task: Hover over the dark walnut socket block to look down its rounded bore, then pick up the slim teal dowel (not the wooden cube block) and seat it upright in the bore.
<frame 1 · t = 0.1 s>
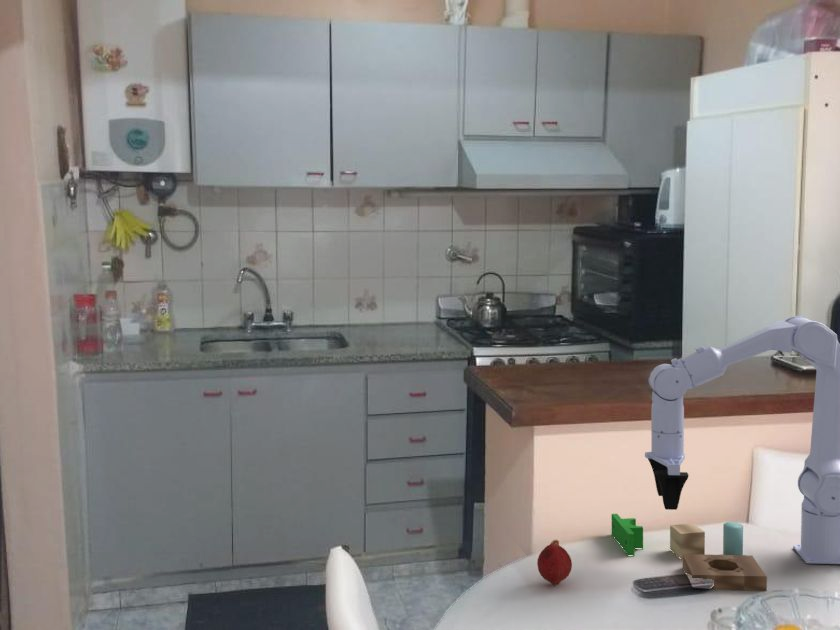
hand: (667, 502, 158), 10 cm above the table, tool pointing down, fingers open, 7 cm apart
onion: (554, 585, 148), on the table
wooden cube block: (687, 554, 159), on the table
green pronged block: (628, 546, 165), on the table
teal dowel: (732, 556, 157), on the table
socket block: (723, 578, 148), on the table
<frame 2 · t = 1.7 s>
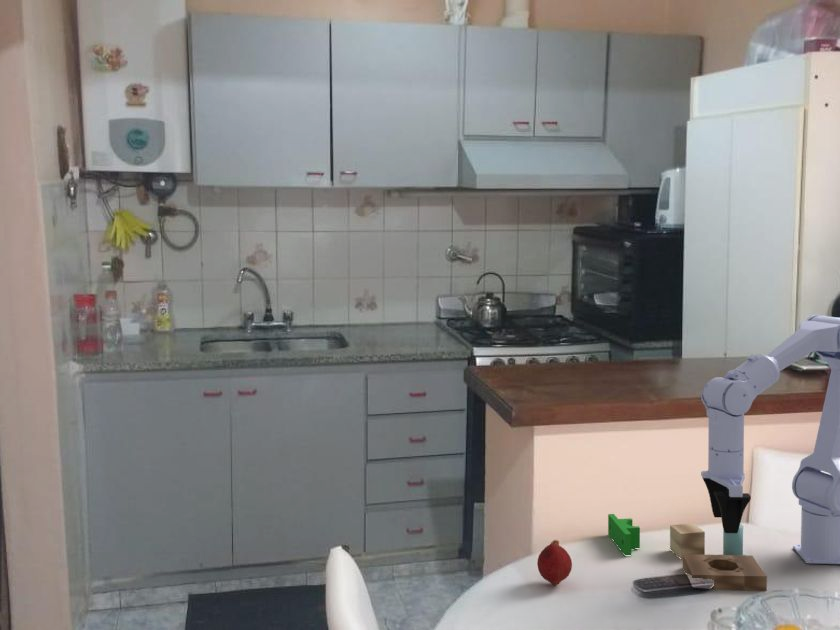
hand: (725, 524, 148), 9 cm above the table, tool pointing down, fingers open, 7 cm apart
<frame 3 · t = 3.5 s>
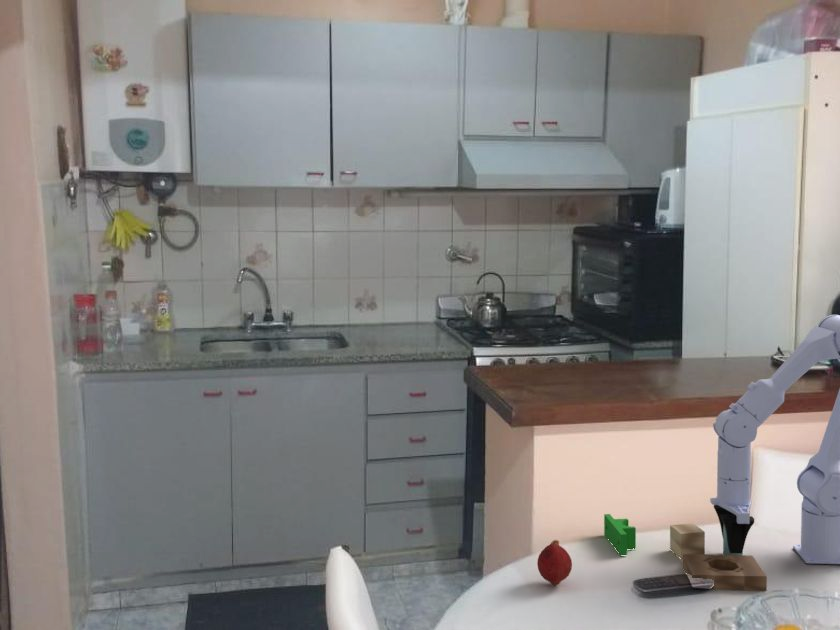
hand: (732, 548, 157), 2 cm above the table, tool pointing down, fingers closed on teal dowel, 3 cm apart
teal dowel: (732, 556, 157), on the table, touching gripper
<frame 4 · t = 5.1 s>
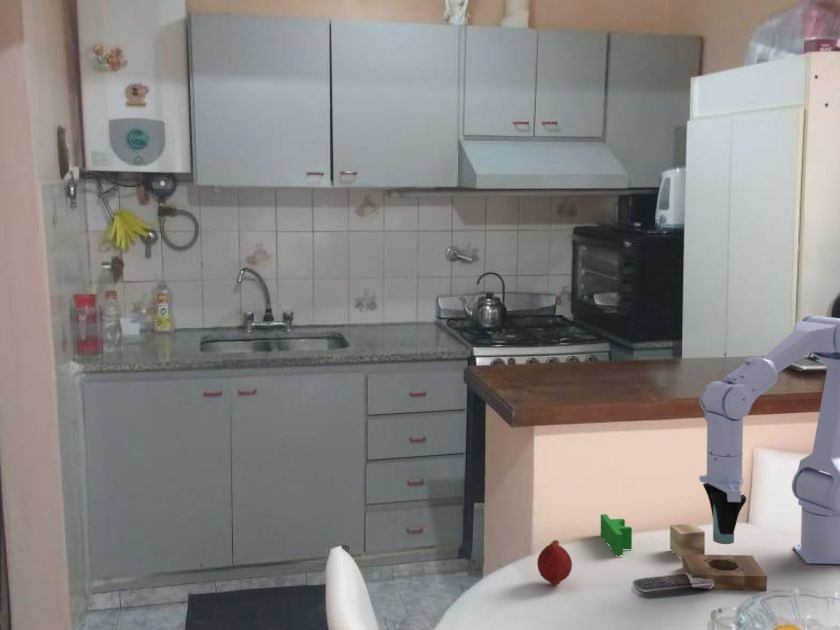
hand: (723, 529, 147), 9 cm above the table, tool pointing down, fingers closed on teal dowel, 3 cm apart
teal dowel: (723, 540, 147), point 7 cm above the table, touching gripper
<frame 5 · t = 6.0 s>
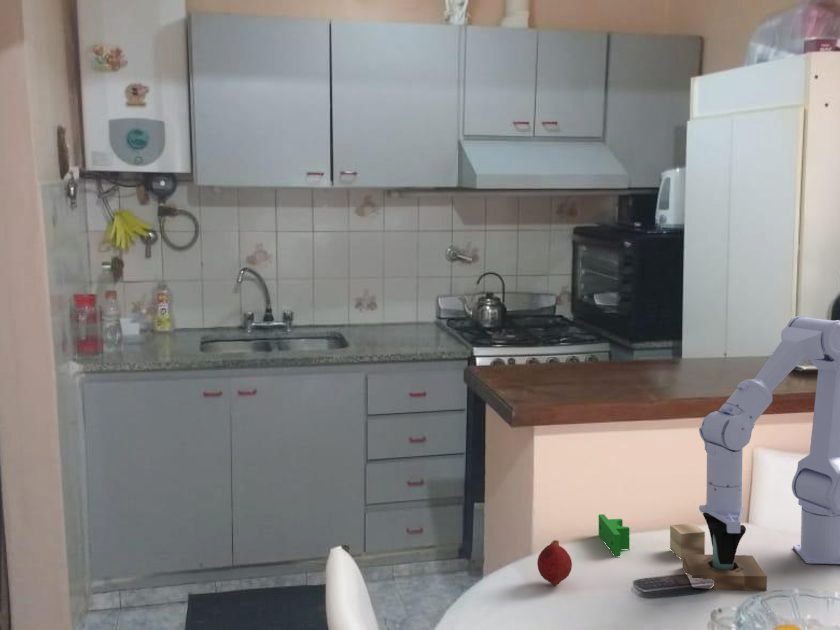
hand: (723, 558, 148), 4 cm above the table, tool pointing down, fingers closed on teal dowel, 3 cm apart
teal dowel: (723, 569, 148), point 2 cm above the table, touching gripper
when the fingers open (3 cm above the table, at t = 6.4 s): teal dowel drops 1 cm, resting in socket block.
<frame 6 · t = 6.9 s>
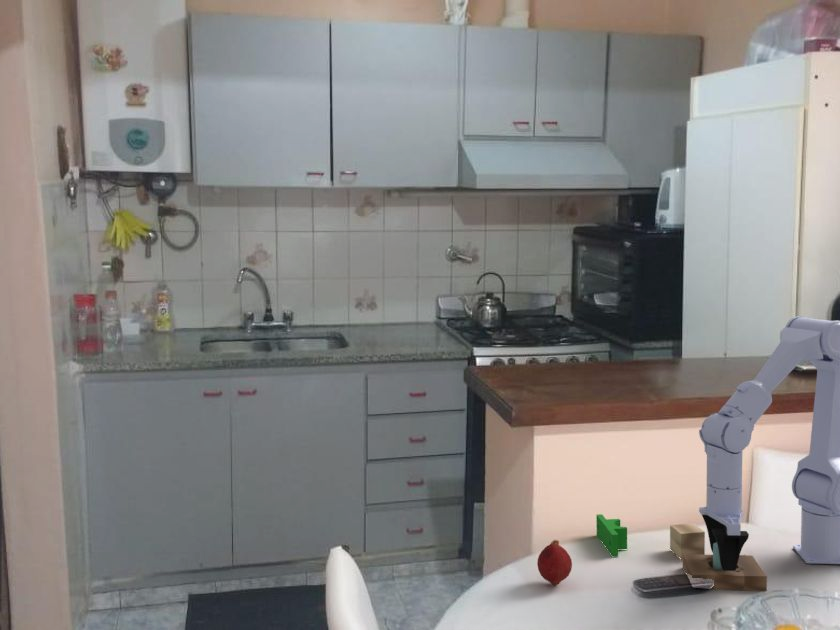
hand: (723, 560, 148), 3 cm above the table, tool pointing down, fingers open, 7 cm apart
teal dowel: (723, 578, 148), resting in socket block
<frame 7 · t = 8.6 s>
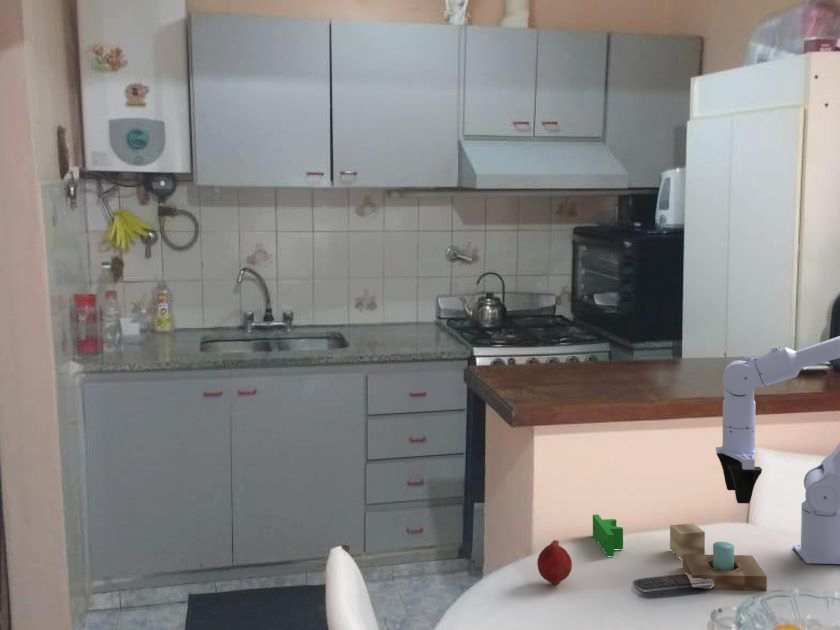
hand: (737, 496, 161), 10 cm above the table, tool pointing down, fingers open, 7 cm apart
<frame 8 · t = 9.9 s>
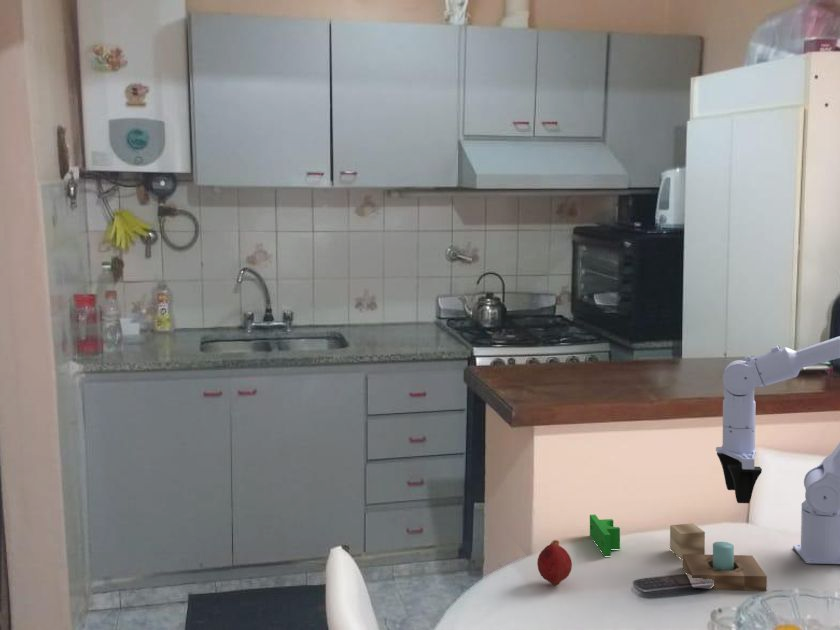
hand: (738, 496, 161), 10 cm above the table, tool pointing down, fingers open, 7 cm apart
at the end: teal dowel 0.0 cm off-centre on the socket block, point 0.0 cm above the socket block's base; teal dowel tilted 1°; the gripper is holding nothing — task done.
